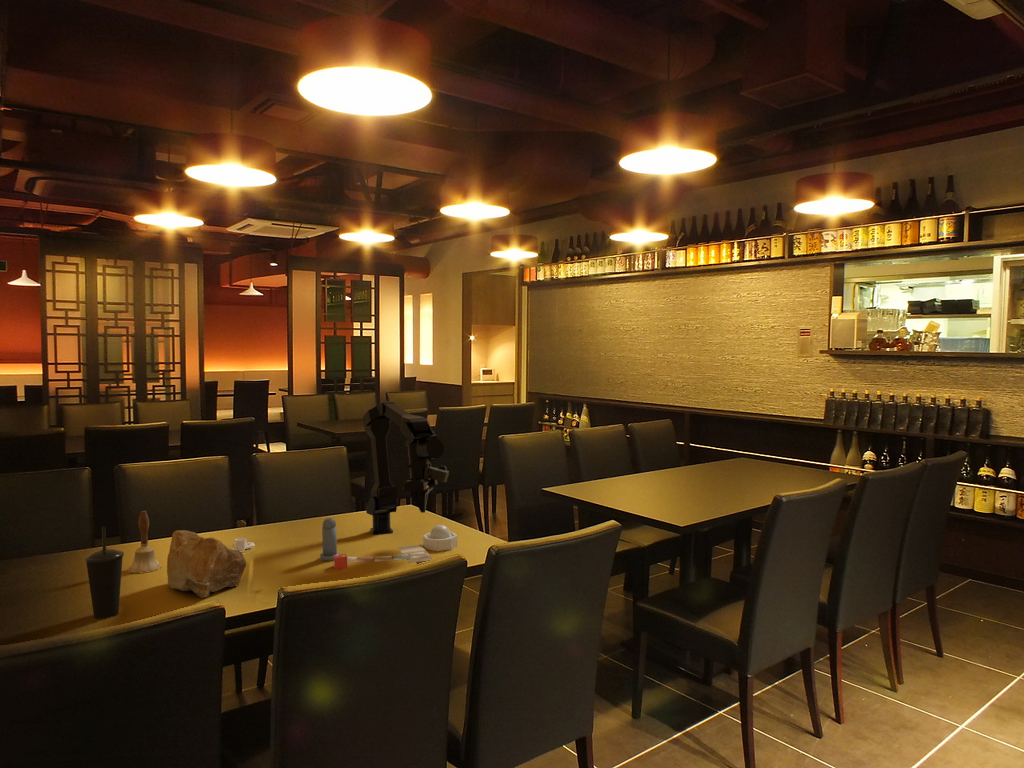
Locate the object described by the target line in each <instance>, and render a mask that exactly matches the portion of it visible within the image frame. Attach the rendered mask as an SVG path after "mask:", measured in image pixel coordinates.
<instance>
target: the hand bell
mask: <svg viewBox="0 0 1024 768" xmlns="http://www.w3.org/2000/svg"><path fill="white" fill-rule="evenodd" d="M148 515H149V514H148V513H147V510H141V511H140V513H139V517H138V529H139V532H140V547H138V548H137V549H136V550H135V551H134V559H133V561H132V564H131V565H130V566H128V568H127V572H128V571H129V572H128V573H130V572H133V573H132V574H141V573H140V572H147V571H152V572H154V571H153V570H156V569H158V570H159V568H160V567H161V566H162V564H161V563H160V562H159V561H158V560H157V558H156V556H155V550H154V547H152V546H149V540H148V531H149V527H150V518H149V516H148ZM162 567H163V566H162ZM162 567H161V568H162ZM161 568H160V569H161ZM156 571H157V570H156ZM147 573H148V572H147Z"/></svg>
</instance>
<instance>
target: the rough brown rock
mask: <svg viewBox="0 0 1024 768" xmlns="http://www.w3.org/2000/svg"><path fill="white" fill-rule="evenodd" d="M171 536H172V537H171V539H170V540H171V541H170V545H169V551H168V554H167V559H166V560H167V561H166V563H167V564H166V573H167V574H166V575H167V584H168V586H169V588H171V589H174V590H178V591H182V592H188V591H192V592H193V593H194V594H195V595H197V597H198V598H199V597H200V598H202V599H205V598H207V597H209V596H210V594H211V593H210V592H214V593H216V592H218V591H220V590H222V589H225V588H226V587H229V588H234V587H233V586H236V585H239V584H240V581H241V578H242V576H243V574H244V572H245V568H246V566H247V560H246V559H245V557H244V555H242V554H243V552H240V551H239V550H232V549H233V548H228V547H227V546H226V544H224V543H223V542H222V541H221V540H219V539H217V538H215V537H211V536H210V537H204V536H200V535H198V533H197V532H194V531H190V530H184V529H183V530H182V529H181V530H178V529H177V530H174V531H173V533H172V535H171ZM215 591H216V592H215ZM206 596H207V597H206ZM204 597H205V598H204Z"/></svg>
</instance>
